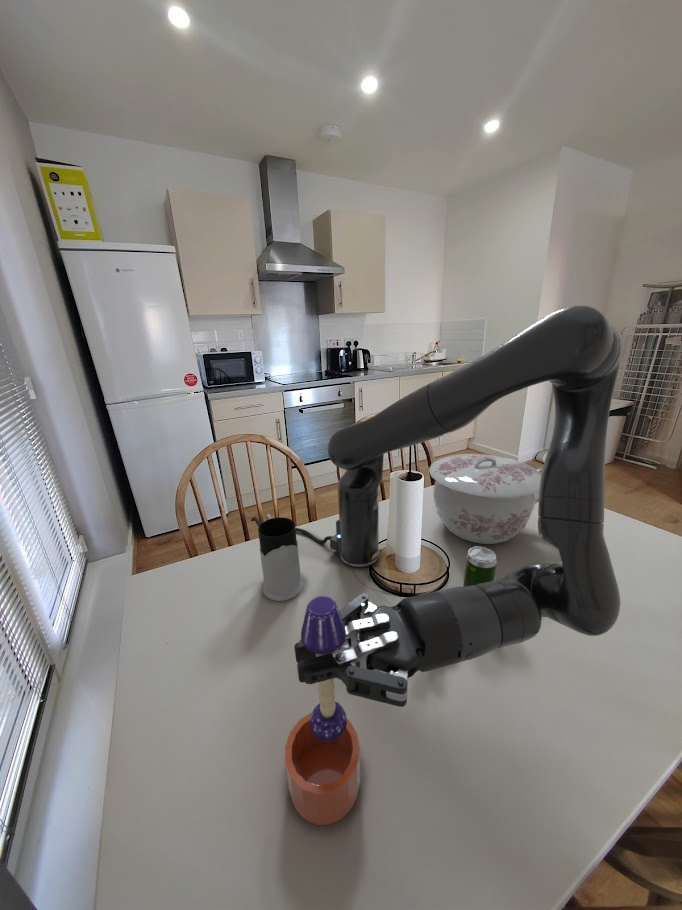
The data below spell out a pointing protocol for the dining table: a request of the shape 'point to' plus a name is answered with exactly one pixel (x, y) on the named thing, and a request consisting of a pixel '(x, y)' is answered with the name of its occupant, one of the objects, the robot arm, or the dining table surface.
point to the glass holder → (279, 558)
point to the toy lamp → (321, 638)
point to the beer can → (479, 566)
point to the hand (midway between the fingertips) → (297, 663)
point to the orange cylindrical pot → (322, 773)
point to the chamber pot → (484, 496)
